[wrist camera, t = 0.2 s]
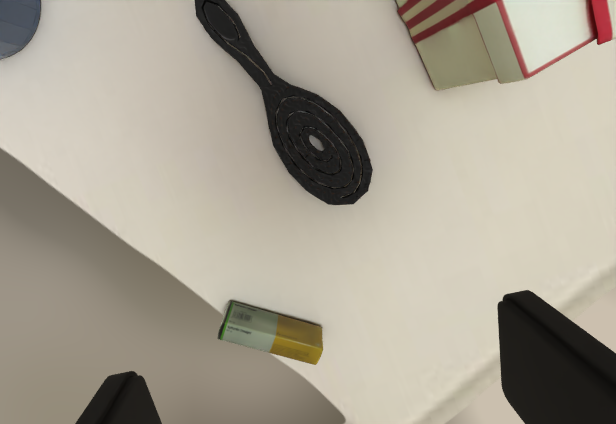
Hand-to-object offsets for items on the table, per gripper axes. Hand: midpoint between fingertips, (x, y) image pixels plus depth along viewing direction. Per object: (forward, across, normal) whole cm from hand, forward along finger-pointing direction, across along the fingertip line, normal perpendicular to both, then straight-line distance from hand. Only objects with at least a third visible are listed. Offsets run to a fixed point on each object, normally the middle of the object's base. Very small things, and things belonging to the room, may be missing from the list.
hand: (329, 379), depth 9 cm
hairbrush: (+31, 0, -8) cm, 32 cm away
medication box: (+31, +7, +17) cm, 36 cm away
